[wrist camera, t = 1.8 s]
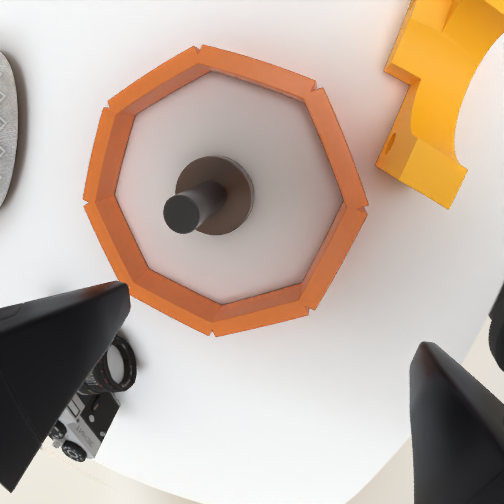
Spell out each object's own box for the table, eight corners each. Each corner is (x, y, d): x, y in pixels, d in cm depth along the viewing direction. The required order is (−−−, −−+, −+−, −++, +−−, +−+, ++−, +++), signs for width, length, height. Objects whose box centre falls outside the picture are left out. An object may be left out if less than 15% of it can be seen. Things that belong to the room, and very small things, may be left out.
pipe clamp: (414, -7, 13) (443, -53, 7) (473, 28, 12) (520, -2, 6) (348, 151, 17) (360, 159, 12) (411, 185, 17) (448, 210, 11)
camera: (170, 403, 31) (145, 476, 21) (94, 406, 32) (61, 465, 23) (109, 281, 27) (49, 341, 17) (34, 301, 28) (-24, 350, 18)
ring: (399, 126, 16) (409, 125, 14) (284, 347, 23) (279, 368, 21) (148, 38, 17) (129, 30, 15) (92, 251, 24) (74, 262, 22)
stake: (266, 173, 19) (244, 187, 14) (237, 244, 21) (210, 278, 16) (193, 144, 19) (152, 149, 15) (171, 213, 21) (129, 237, 17)
